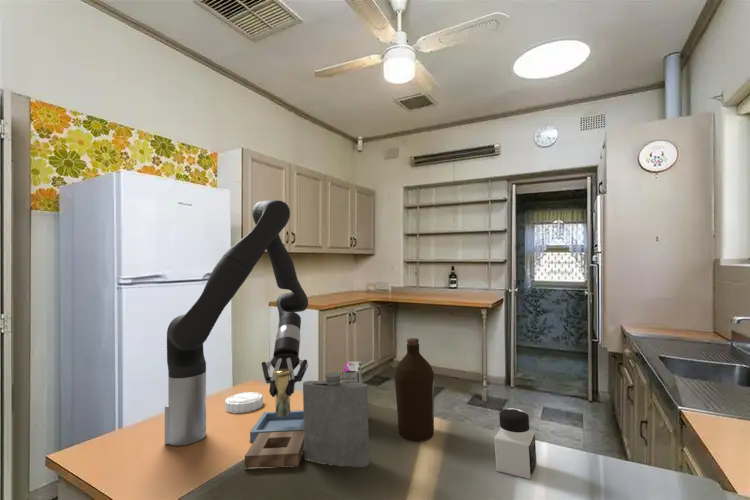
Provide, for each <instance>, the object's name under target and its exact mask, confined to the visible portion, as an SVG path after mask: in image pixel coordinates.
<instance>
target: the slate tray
mask: <svg viewBox="0 0 750 500" xmlns="http://www.w3.org/2000/svg"><path fill="white" fill-rule="evenodd" d="M290 431H304V413H303V409H302V410H290V414H289V415H287V416H282V417H279V416H276V411H264V412H263V413H262V414H261V416H260V417H259V419H258V420H257V422H256V423H255V424H254V426H253V427H252V429H251V430H250V432H249V442H250V443H253V442H254V441H255V439H256V437H257V436H258V434H259V433H269V432H290Z"/></svg>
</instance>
